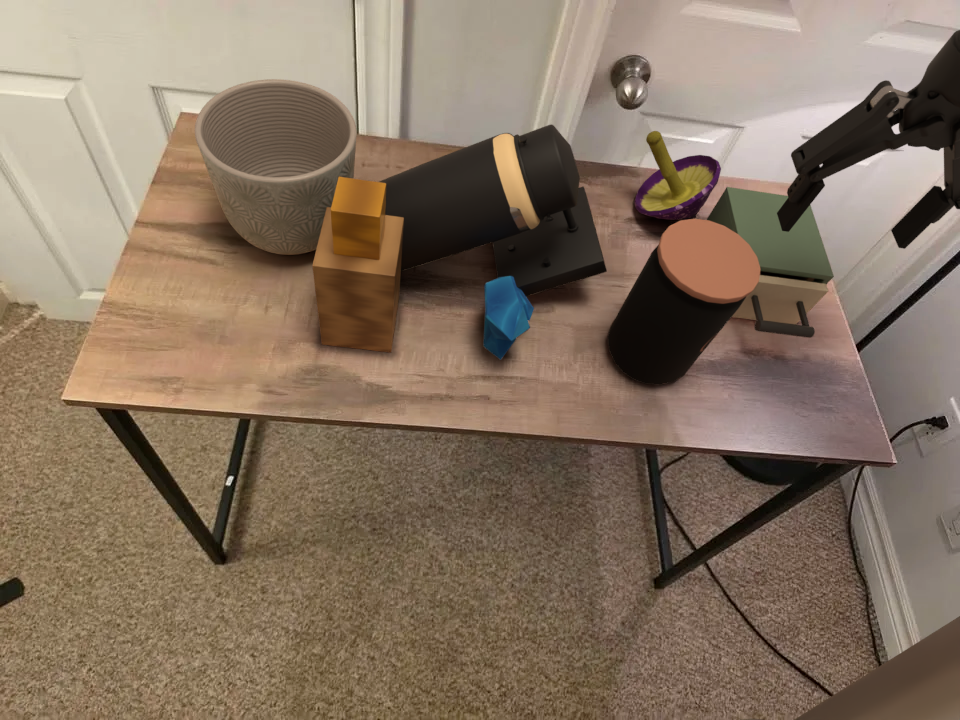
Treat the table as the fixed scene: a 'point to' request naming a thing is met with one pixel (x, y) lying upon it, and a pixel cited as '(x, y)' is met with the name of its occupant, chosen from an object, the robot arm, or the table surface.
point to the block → (358, 218)
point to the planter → (276, 159)
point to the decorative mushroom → (676, 183)
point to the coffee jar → (682, 300)
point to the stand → (358, 290)
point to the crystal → (504, 315)
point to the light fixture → (501, 209)
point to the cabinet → (774, 234)
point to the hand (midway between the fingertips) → (840, 231)
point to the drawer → (782, 304)
